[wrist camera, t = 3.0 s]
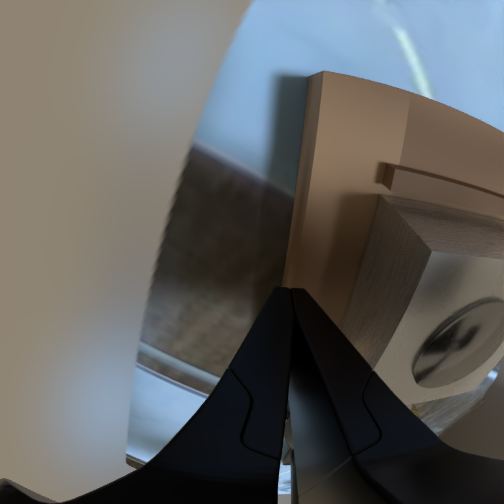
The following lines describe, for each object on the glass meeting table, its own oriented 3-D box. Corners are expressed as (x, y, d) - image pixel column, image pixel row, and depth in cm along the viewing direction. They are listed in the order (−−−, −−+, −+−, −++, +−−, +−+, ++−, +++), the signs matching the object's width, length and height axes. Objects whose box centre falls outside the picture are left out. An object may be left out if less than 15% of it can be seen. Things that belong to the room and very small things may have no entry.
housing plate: (475, 336, 14) (493, 370, 11) (271, 343, 14) (272, 394, 11) (549, 167, 8) (586, 190, 5) (308, 76, 8) (328, 68, 5)
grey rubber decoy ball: (324, 418, 19) (328, 457, 16) (280, 419, 19) (280, 459, 16) (338, 397, 17) (344, 442, 14) (287, 398, 17) (289, 444, 14)
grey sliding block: (449, 339, 10) (475, 392, 8) (332, 344, 10) (345, 415, 8) (508, 222, 7) (559, 269, 4) (380, 194, 7) (435, 255, 4)
